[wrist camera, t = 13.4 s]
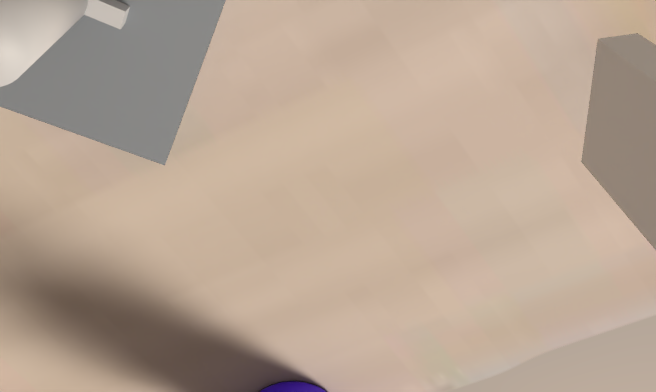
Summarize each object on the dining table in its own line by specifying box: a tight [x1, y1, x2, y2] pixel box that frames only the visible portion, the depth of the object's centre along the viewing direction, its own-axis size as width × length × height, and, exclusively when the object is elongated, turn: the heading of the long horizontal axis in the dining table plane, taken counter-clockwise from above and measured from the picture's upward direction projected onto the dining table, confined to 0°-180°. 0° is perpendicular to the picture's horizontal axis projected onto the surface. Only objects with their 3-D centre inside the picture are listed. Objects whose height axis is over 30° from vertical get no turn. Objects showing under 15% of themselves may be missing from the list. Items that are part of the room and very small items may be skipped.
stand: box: [0, 0, 225, 165], centre depth 27 cm, size 16×16×10 cm
